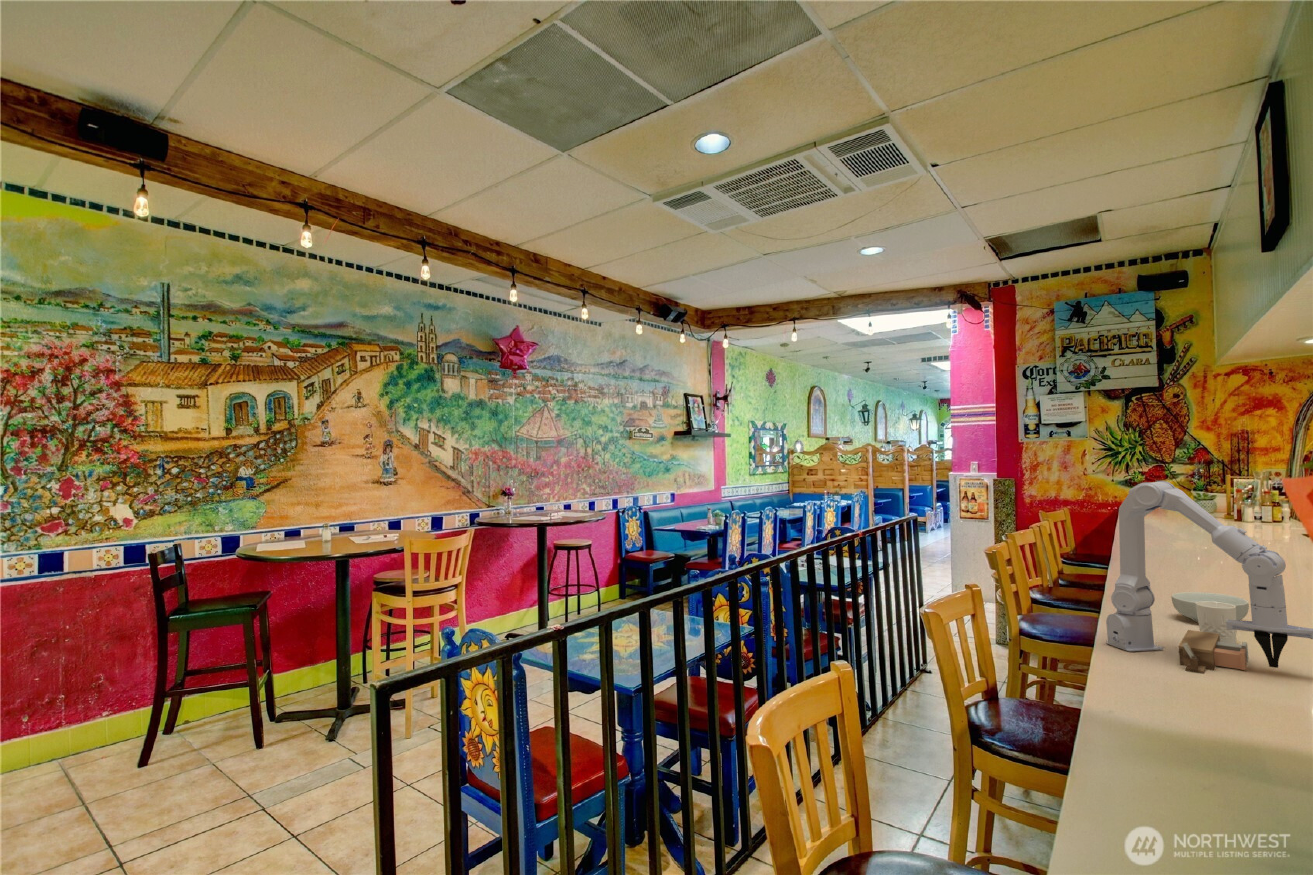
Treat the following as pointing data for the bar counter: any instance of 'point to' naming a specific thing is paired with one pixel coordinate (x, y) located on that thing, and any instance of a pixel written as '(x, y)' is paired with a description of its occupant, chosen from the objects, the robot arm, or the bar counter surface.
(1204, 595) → the cereal bowl
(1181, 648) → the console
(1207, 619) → the white cup
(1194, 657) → the toggle lever
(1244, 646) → the plunger grey
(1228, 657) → the flanged terracotta block
